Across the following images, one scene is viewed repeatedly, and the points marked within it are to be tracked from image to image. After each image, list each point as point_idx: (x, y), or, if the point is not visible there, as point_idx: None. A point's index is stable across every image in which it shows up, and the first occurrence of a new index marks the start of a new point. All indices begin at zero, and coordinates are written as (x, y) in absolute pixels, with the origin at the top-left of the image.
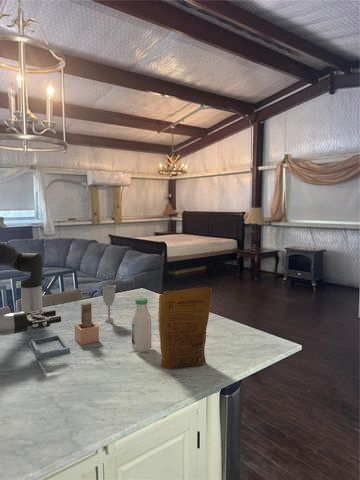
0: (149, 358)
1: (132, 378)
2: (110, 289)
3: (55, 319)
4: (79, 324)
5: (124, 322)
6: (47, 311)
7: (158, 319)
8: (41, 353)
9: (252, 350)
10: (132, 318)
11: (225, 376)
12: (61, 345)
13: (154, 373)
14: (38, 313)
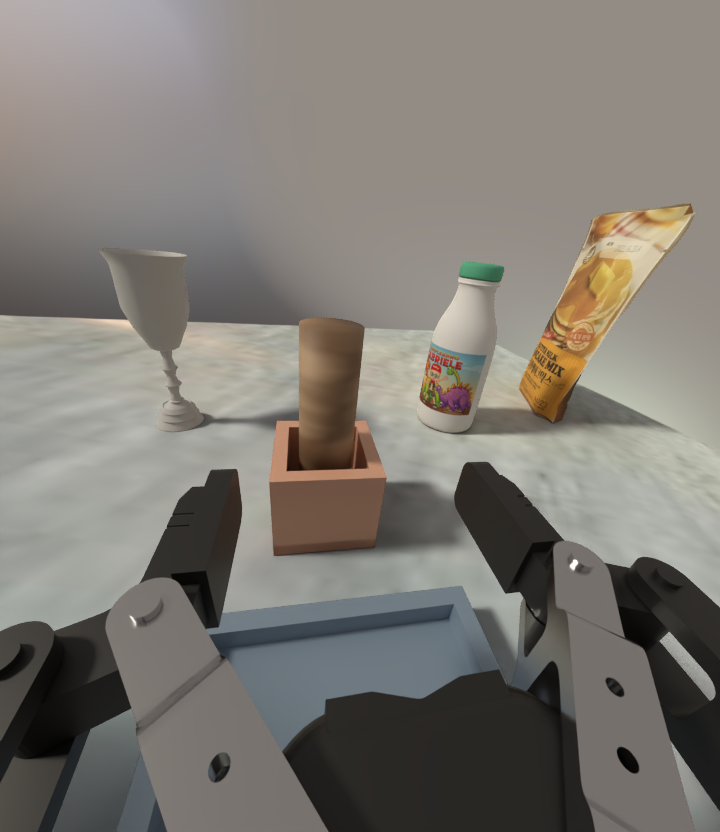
0: (506, 425)
1: (636, 475)
2: (182, 263)
3: (534, 514)
4: (286, 464)
5: (215, 396)
6: (199, 547)
7: (630, 302)
8: None
9: None
10: (471, 338)
11: (576, 386)
12: (342, 636)
13: (591, 439)
14: (279, 755)
